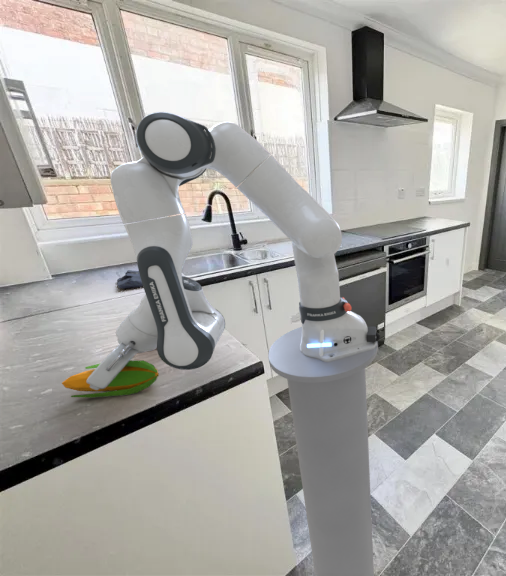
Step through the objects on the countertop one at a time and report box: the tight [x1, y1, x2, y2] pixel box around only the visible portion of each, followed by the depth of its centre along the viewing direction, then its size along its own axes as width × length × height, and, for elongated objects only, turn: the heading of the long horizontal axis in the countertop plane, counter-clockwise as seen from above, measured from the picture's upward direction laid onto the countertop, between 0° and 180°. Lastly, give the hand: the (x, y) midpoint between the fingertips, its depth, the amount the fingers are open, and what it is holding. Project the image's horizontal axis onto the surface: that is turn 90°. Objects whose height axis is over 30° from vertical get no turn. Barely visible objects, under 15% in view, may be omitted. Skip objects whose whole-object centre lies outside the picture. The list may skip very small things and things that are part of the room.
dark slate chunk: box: [116, 269, 143, 289], centre depth 151 cm, size 15×22×5 cm
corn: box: [61, 359, 160, 399], centre depth 72 cm, size 7×8×20 cm
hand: (104, 376), depth 71 cm, fingers closed on corn, 6 cm apart
